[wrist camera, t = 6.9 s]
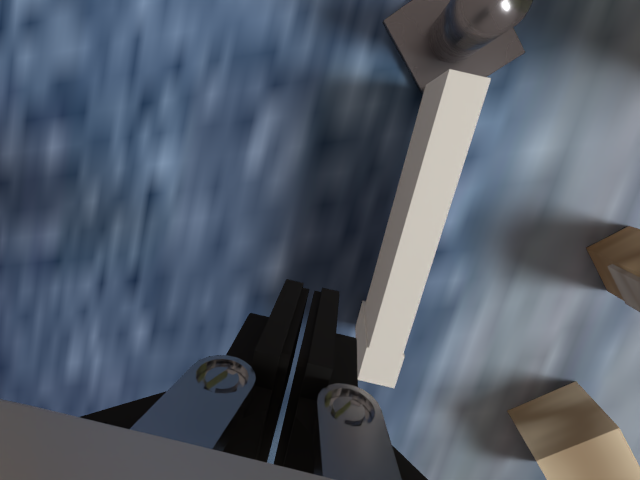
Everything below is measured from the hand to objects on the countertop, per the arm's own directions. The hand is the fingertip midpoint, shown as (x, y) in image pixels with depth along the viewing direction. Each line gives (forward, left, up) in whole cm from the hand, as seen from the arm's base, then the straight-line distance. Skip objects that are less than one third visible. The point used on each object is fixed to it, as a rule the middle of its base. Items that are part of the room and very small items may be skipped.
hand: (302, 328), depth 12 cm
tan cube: (+6, -18, -11) cm, 22 cm away
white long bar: (+4, -1, -11) cm, 12 cm away
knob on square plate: (+11, +5, -11) cm, 16 cm away
